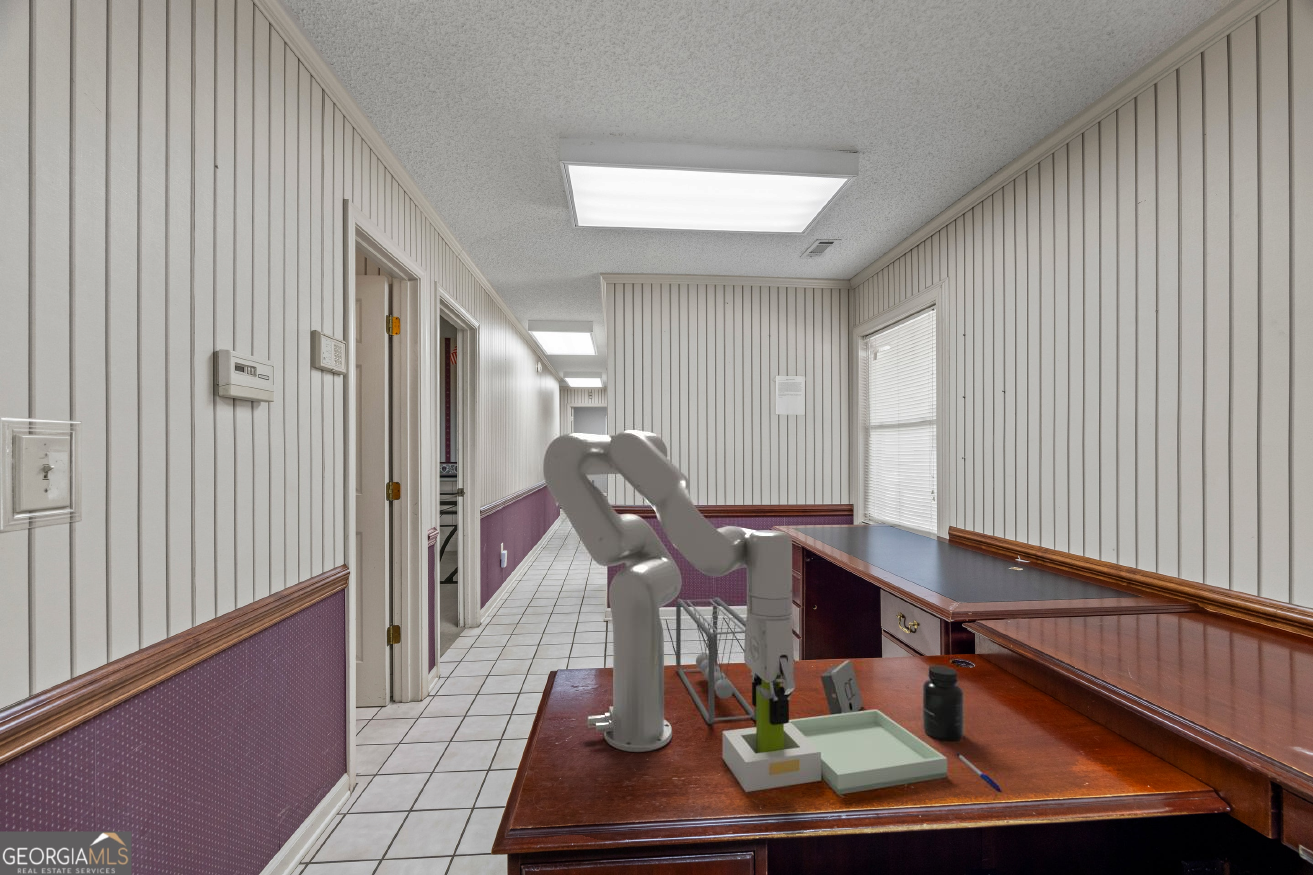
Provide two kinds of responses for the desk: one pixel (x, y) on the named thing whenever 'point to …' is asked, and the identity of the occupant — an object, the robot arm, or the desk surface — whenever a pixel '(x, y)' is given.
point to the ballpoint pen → (980, 773)
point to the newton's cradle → (710, 658)
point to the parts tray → (869, 751)
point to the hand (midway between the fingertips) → (769, 712)
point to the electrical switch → (842, 689)
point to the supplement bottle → (943, 705)
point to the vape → (767, 721)
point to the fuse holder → (771, 759)
